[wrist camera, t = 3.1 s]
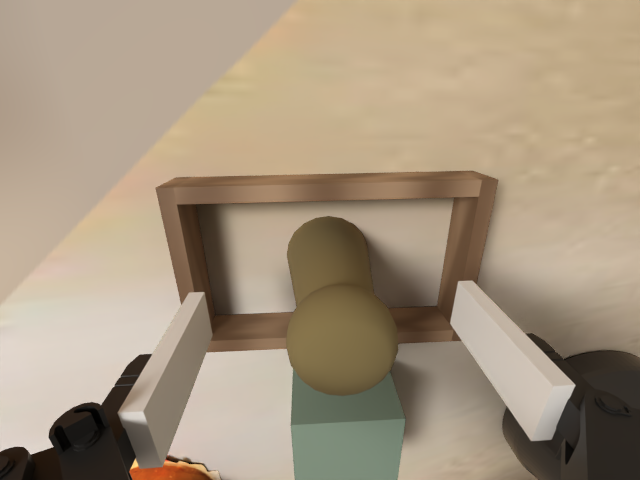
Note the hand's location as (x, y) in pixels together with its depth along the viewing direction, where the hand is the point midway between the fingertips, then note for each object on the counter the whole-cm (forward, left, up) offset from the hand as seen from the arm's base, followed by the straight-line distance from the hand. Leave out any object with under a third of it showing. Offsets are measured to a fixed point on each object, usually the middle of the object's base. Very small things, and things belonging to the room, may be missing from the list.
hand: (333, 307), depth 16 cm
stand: (-1, +14, -7) cm, 16 cm away
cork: (0, 0, -8) cm, 8 cm away
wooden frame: (0, 0, -7) cm, 7 cm away
